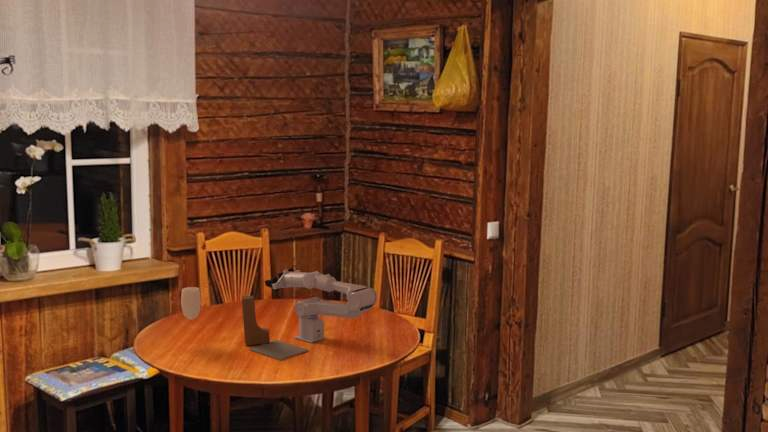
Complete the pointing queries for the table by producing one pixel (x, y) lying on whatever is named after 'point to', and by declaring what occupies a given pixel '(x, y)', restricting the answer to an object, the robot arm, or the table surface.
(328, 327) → the table surface
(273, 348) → the mat
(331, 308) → the robot arm
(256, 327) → the wooden block
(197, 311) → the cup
